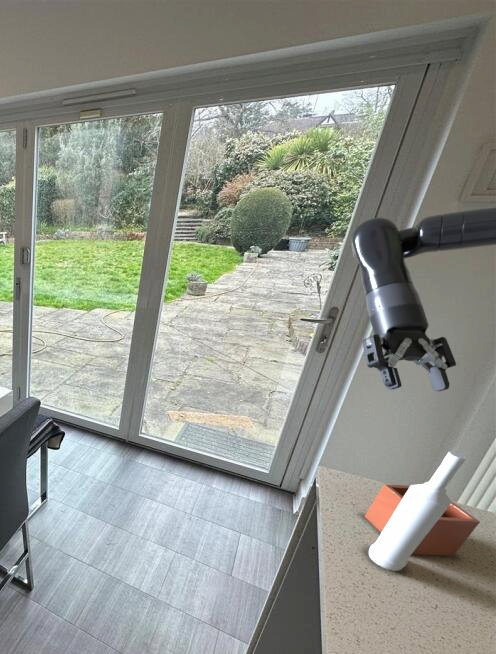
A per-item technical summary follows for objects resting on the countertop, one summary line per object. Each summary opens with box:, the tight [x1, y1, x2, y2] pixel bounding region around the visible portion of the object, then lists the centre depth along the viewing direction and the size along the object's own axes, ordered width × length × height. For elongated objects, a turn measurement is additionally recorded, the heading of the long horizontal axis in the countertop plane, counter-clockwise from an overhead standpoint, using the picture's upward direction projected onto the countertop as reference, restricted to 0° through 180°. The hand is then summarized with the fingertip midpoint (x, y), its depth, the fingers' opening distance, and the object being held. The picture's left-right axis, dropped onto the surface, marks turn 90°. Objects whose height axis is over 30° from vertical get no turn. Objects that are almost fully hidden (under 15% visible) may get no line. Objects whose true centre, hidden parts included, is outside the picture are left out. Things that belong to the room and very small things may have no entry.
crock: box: [364, 483, 481, 557], centre depth 81 cm, size 10×10×9 cm
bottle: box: [368, 450, 467, 572], centre depth 72 cm, size 5×5×25 cm
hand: (418, 389), depth 76 cm, fingers open, 8 cm apart
